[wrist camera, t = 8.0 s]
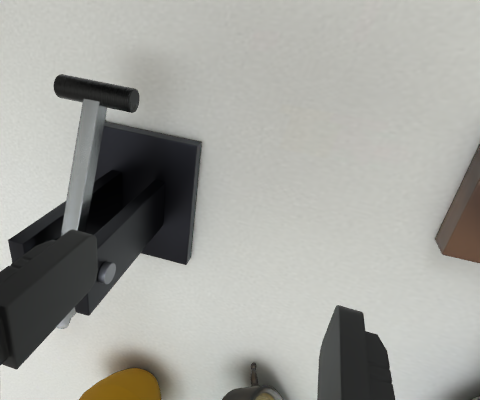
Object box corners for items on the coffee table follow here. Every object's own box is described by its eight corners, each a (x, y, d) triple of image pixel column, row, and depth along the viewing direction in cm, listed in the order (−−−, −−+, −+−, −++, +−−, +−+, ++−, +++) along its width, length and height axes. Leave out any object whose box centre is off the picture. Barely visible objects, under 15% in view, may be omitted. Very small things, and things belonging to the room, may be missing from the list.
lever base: (91, 118, 31) (-44, 172, 20) (201, 141, 30) (124, 214, 19) (97, 233, 37) (-6, 327, 26) (190, 258, 35) (126, 367, 24)
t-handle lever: (74, 79, 24) (50, 69, 22) (144, 93, 23) (127, 84, 21) (43, 268, 25) (17, 278, 23) (109, 286, 25) (89, 298, 22)
